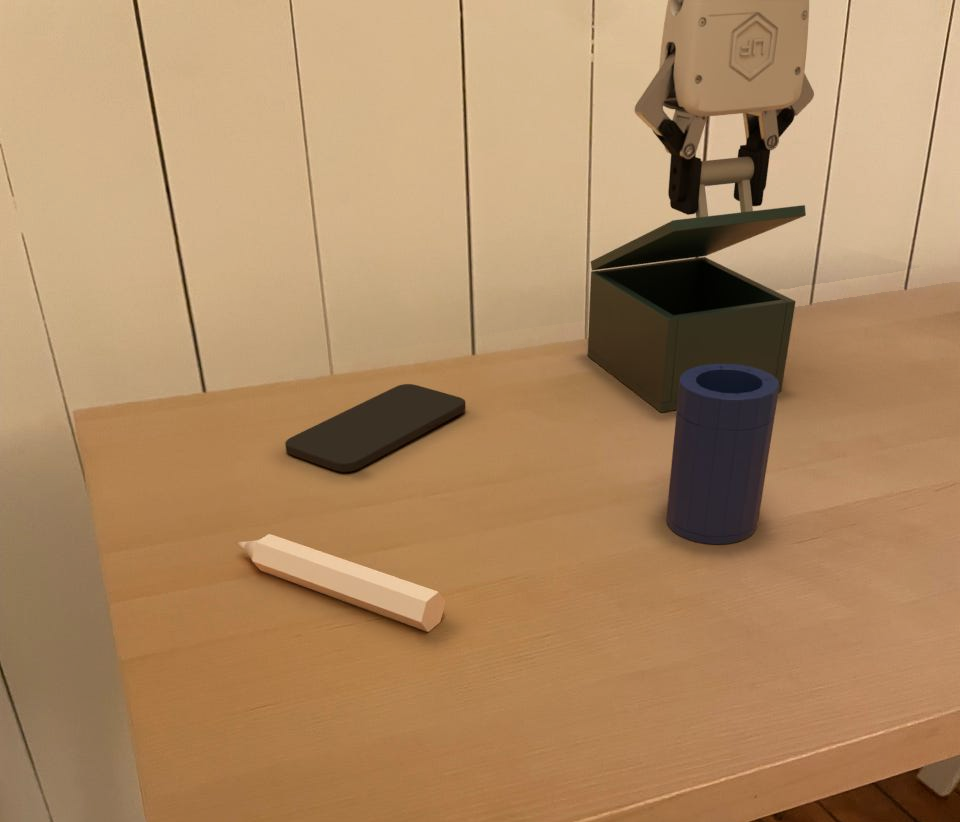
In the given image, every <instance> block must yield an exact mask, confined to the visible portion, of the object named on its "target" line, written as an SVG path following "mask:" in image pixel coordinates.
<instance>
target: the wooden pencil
mask: <svg viewBox="0 0 960 822" xmlns="http://www.w3.org/2000/svg"><path fill="white" fill-rule="evenodd" d="M233 543H234V544H235V545H236V546H238V547H239V549H241V550H242V551H243V552H244V553H246V554H247V555H248V557H250V559H251V562H252V563H253V564H254V565H255V566H256V567H257V568H258V569H259V570H260V571H261V572H263V573H267V575H268V574H269V575H271V576H274V577H276V578H279V579H282V580H285V581H288V582H290V583H294V584H296V585H298V586H302V587H304V588H306V589H309V590H313V591H315V592H318V593H321V594H324V595H326V596H328V597H332V598H334V599H336V600H339V601H342V602H345V603H348V604H350V605H353V606H356V607H358V608H362V609H365V610H367V611H369V612H372V613H375V614H378V615H380V616H383V617H386V618H389V619H391V620H394V621H397V622H399V623H402V624H405V625H408V626H410V627H412V628H416V629H418V630H421V631H424V632H426V633H429V632H430V631H431V630H433V629H434V628H435V627H436V626H438V625H439V624H440V623H441V622H442V617H443V613H444V609H445V605H446V600H445V599H444V598H443V596H442V595H441V593H440V591H437V590H435V589H432V588H429V587H426V586H423V585H420V584H417V583H414V582H411V581H408V580H405V579H402V578H399V577H397V576H394V575H391V574H389V573H388V574H387V573H385V572H382V571H380V570H376V569H374V568H371V567H367V566H364V565H361V564H359V563H356V562H353V561H350V560H347V559H344V558H341V557H338V556H336V555H333V554H329V553H327V552H324V551H320V550H317V549H315V548H312V547H309V546H306V545H303V544H300V543H297V542H295V541H291V540H288V539H286V538H283V537H281V536H277V535H274V534H271V533H268V534H266V535H265V536H263V537H262V538H260V539H255V540H249V541H248V540H247V541H234V542H233Z"/></svg>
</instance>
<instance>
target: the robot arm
mask: <svg viewBox="0 0 960 822" xmlns="http://www.w3.org/2000/svg"><path fill="white" fill-rule="evenodd" d="M809 18H810V0H667V4H666V11H665V17H664V22H663V30H662V36H661V37H662V38H661V45H660V55H659V66H658V71H657V72H656V74H655V75H654V77H653V78H652V80H651V81H650V82H649V84H648V86H647V87H646V89H645V90H644V92H643V93H642V94H641V96H640V98H639V99H638V100H637V101H636V103H635V105H634V113H635V115H636V116H637V118H639V119H640V120H641V121H642V122H643V123H644V124H645V125H646V126H647V127H648V128H649V129H651V130H652V132H653V134H654V135H655V136H656V137H657V138H658V140H659V141H660V142H661V144H662V145H663V146H664V151H665V152H666V153H668V154H669V155H670V163H669V177H668V189H667V191H668V193H667V194H668V198H669V205H670V208H671V209H673V210H675V211H678V212H680V213H683V214H685V215H688V216H689V215H690V216H691V215H696V212H697V210H698V202H699V190H700V179H701V168H702V161H703V160H702V158H700V157H696V155H697V150H698V148H699V144H700V141H701V139H702V135H703V133H704V129H705V127H706V123H707V119H708V117H718V116H727V115H729V116H730V115H739V114H740V115H741V114H742V118H743V119H742V120H743V126H744V133H745V134H744V135H745V141H746V142H745V144H741V145H739V149H738V151H737V158H738V157H750V158H751V159H752V160H753V163H754V174H753V177H752V179H751V180H750V187H751V197H752V207H760V206H761V205H763V201H764V192H765V189H766V187H767V182H768V181H767V180H768V172H769V165H770V155H771V151H774V150H775V149H776V148H777V147H778V145H779V143H780V137H781V136H782V135H783V134H784V133H785V132H786V131H787V129H788V128H789V127H790V126H791V124H792V123H793V121H794V119H795V117H796V116H798V115H799V114H800V113H801V112H802V111H803V110H804V109H805V108H806V107H807V106H808V105H809V104H810V103H811V102H812V101H813V99H814V97H815V92H814V89H813V87H812V85H811V83H810V81H809V79H808V77H807V75H806V73H805V70H806V61H807V52H808V51H807V49H808V36H809V22H810V21H809V20H810V19H809ZM664 107H665V108H667V109H670V110H674V114H673V115H672V116H673V117H672V118H670V117H669V116H668V115H667V113H666V112H665V110H664ZM733 198H734V200H736V201H738V202H740V199H739V189H738V183H734V188H733Z"/></svg>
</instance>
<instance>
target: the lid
mask: <svg viewBox="0 0 960 822" xmlns="http://www.w3.org/2000/svg"><path fill="white" fill-rule="evenodd" d="M701 161H702V168H701V179H700V190H699V202H698V210H697V212H696V213H695V217H689V218H681V219H673V220H670V221H669V222H667V223H664V224H662V225H660V226H659V227H656V228H655V229H653V230H651V231H649V232H647V233H645V234H643V235H641V236H639V237H637V238H635V239H633V240H630V241H629V242H627V243H625V244H623V245H621V246H618V247H617V248H615V249H613V250H611V251H609V252H606V253H605V254H603V255H601V256H599V257H596V258H595V259H593V260H591V261H590V267H591V271H598V270H599V271H600V270H606V269H614V268H622V267H630V266H638V265H645V264H653V263H661V262H669V261H677V260H685V259H693V258H700V257H707V256H709V255H712V254H714V253H717V252H719V251H721V250H725V249H726V248H729V247H731V246H734V245H736V244H739V243H742V242H744V241H746V240H749V239H751V238H754V237H756V236H759V235H762V234H764V233H766V232H769V231H772V230H774V229H776V228H778V227H781V226H784V225H787V224H789V223H791V222H794V221H796V220H798V219H801V218H804V217H805V216H807V213H806V205H805V204H802V205H795V206H785V207H776V208H768V209H759V210H754V209H753V207H754V206H752V197H751V187H750V180H751V179H752V177H753V174H754V163H753V160H752V159H751V158H750V157H738V156H737V157H729V158H720V159H710V160H709V159H708V160H701ZM735 183H738V189H739V199H740V201H739V207H740V212H732V213H725V214H716V215H709V210H708V202H707V200H708V199H707V191H706V187H710V186H711V187H712V186H721V185H730V184H735Z"/></svg>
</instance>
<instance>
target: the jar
mask: <svg viewBox="0 0 960 822" xmlns="http://www.w3.org/2000/svg"><path fill="white" fill-rule="evenodd" d="M779 393H780V392H779V383H778V379H776V378H775V377H774V376H773V375H771V374H770V373H768V372H765V371H763V370H760V369H757V368H754V367H750V366H744V365H739V364H737V365H736V364H709V365H701V366H697V367H694V368H691V369H688V370H687V371H685V372H684V373H683V374H682V375H681V376H680V383H679V393H678V403H677V410H676V414H675V425H674V436H673V443H672V456H671V465H670V474H669V475H670V476H669V477H670V478H669V485H668V495H667V506H666V507H667V509H666V523H667V526H668V527H669V529H670V530H671V531H672V532H674V533H675V534H676V535H678V536H680V537H682V538H684V539H686V540H689V541H692V542H696V543H700V544H705V545H706V544H707V545H729V544H735V543H739V542H742V541H744V540H746V539H749V538H750V537H752V536H753V534H755V532H756V530H757V527H758V522H759V519H760V512H761V507H762V501H763V499H762V498H763V493H764V487H765V480H766V474H767V468H768V461H769V454H770V448H771V441H772V436H773V429H774V423H775V416H776V410H777V404H778V398H779Z"/></svg>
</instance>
